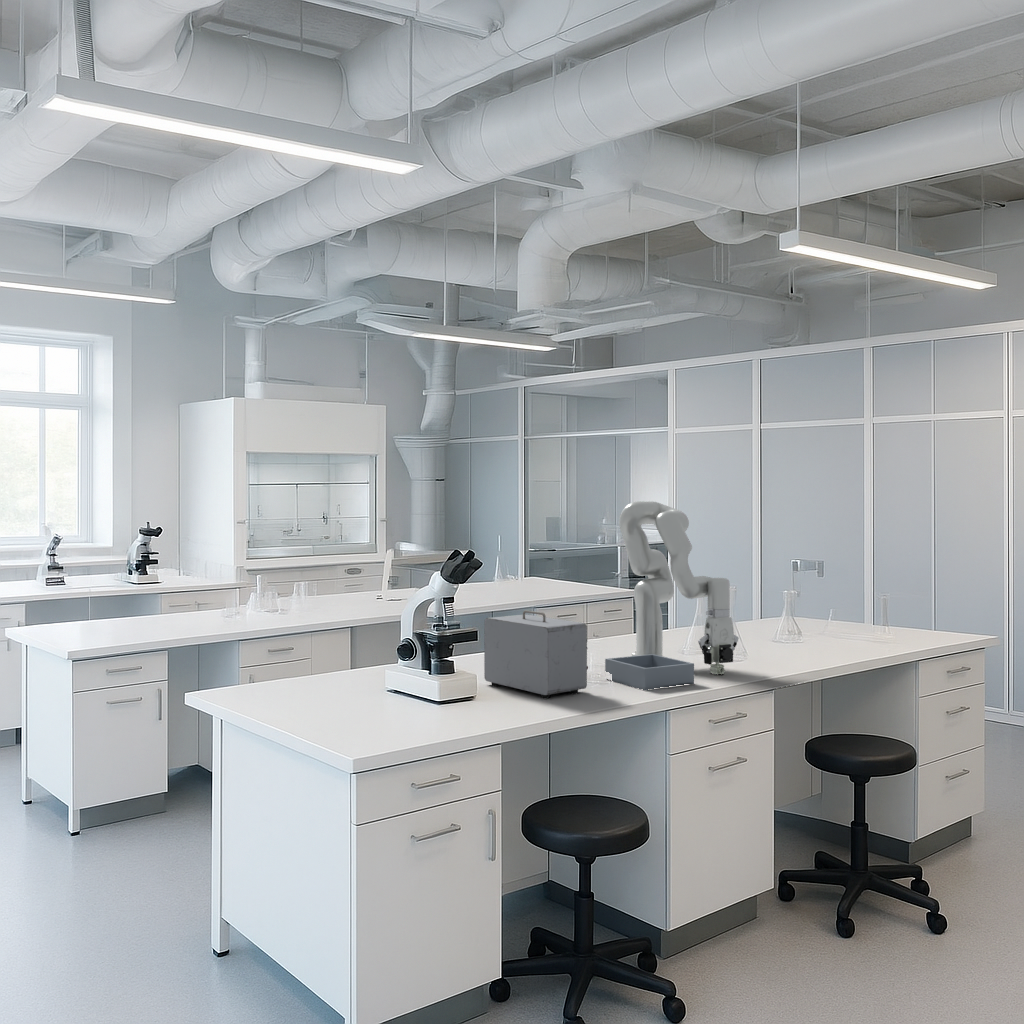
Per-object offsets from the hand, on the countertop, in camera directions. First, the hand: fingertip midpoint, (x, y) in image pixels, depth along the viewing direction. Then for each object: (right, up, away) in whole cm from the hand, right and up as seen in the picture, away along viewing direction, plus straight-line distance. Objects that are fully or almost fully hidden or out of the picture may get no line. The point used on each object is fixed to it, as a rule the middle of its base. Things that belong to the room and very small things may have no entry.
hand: (718, 662), depth 339 cm
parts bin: (-26, -4, -15) cm, 30 cm away
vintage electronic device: (-64, -5, -25) cm, 69 cm away
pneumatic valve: (0, -4, 0) cm, 4 cm away
